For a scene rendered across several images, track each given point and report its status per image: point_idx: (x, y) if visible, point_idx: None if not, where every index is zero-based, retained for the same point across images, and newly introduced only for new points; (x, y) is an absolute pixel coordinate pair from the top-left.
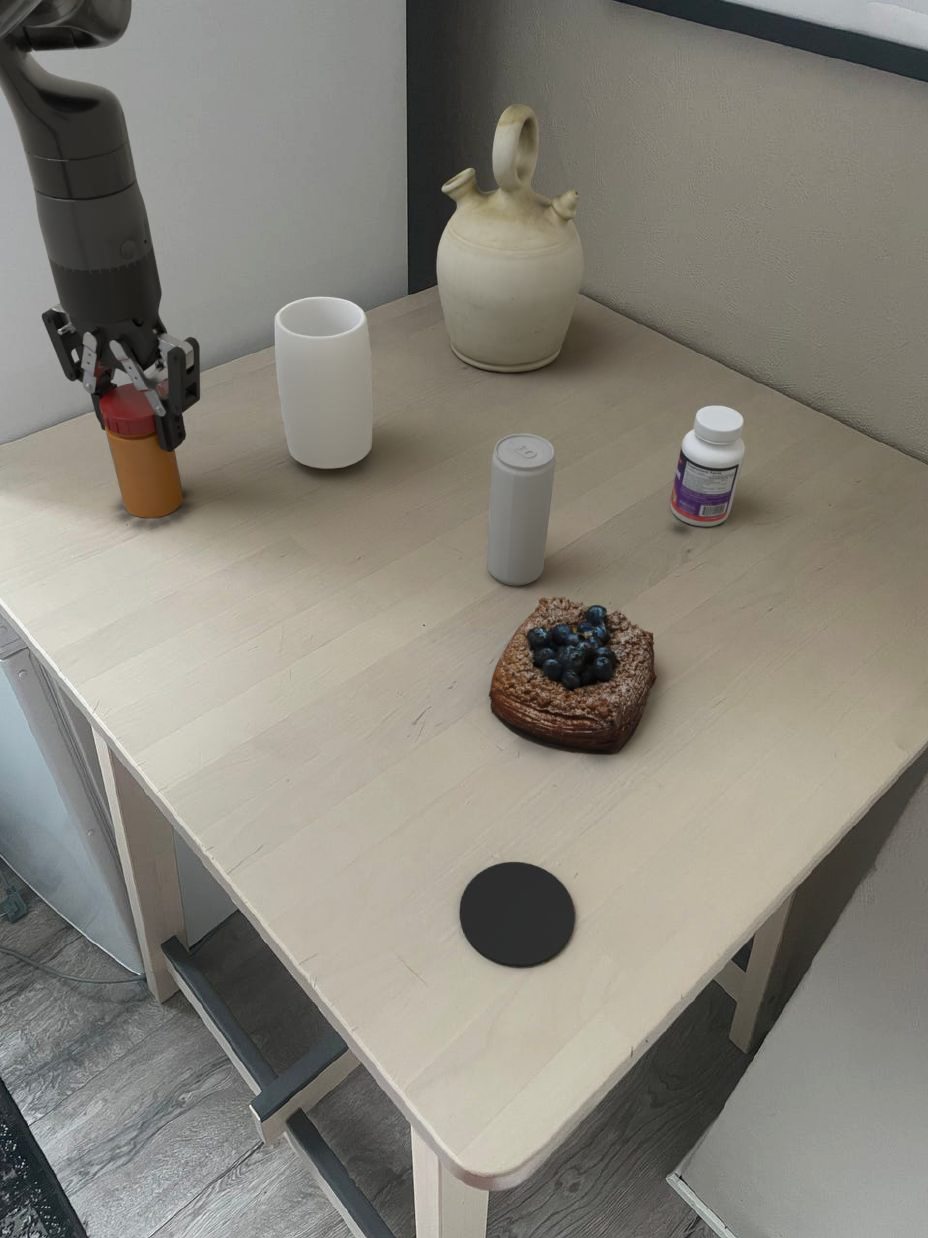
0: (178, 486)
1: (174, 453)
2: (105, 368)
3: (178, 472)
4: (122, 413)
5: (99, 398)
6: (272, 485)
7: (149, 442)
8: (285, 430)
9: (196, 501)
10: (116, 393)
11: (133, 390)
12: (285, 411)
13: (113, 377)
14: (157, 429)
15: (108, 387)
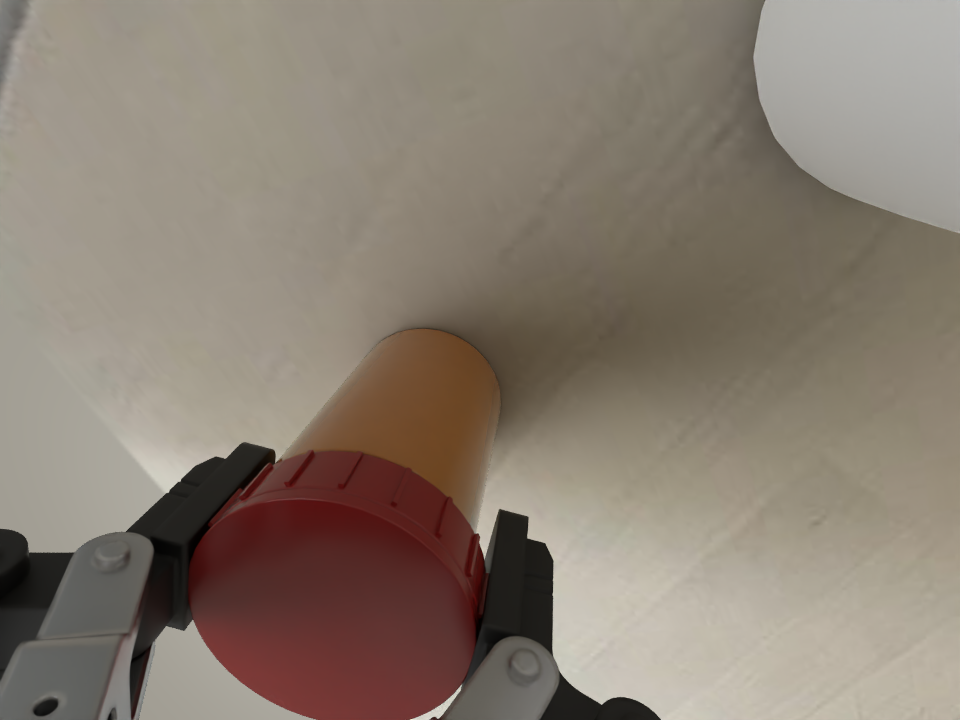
0: (495, 420)
1: (481, 455)
2: (127, 716)
3: (486, 412)
4: (337, 700)
5: (188, 621)
6: (721, 261)
7: None
8: (804, 139)
9: (533, 378)
10: (226, 589)
11: (278, 566)
12: (877, 177)
13: (152, 560)
14: None
15: (174, 580)
